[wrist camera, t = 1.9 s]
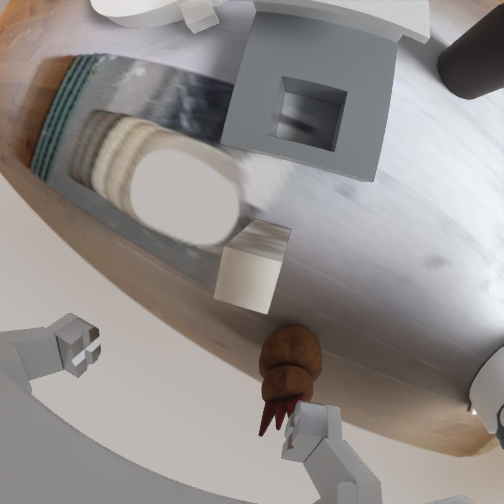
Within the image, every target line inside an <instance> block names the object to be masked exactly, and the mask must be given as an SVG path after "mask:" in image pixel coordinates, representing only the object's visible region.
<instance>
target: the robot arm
mask: <svg viewBox="0 0 504 504" xmlns="http://www.w3.org/2000/svg"><path fill="white" fill-rule="evenodd" d="M98 337H99V329H98V328H96V327H95V326H93V325H91V324H90V323H88V322H86V321H84V320H83V319H81V318H79V317H77V316H76V315H74V314H72V313H69V314H67V315H65V316H64V317H62V318H61V319H59V320H58V321H56V322H55V323H53V324H52V325H50V326H49V327H47V328H44V327H41V328H32V329H23V330H14V331H4V332H0V504H256V503H250V502H245V501H241V500H237V499H233V498H229V497H225V496H221V495H217V494H214V493H211V492H207V491H204V490H201V489H198V488H195V487H192V486H188V485H186V484H183V483H181V482H178V481H175V480H172V479H170V478H168V477H165V476H163V475H160V474H158V473H156V472H153V471H151V470H149V469H147V468H144V467H142V466H140V465H138V464H136V463H134V462H132V461H130V460H128V459H126V458H124V457H122V456H120V455H118V454H116V453H115V452H113V451H111V450H109V449H108V448H106V447H104V446H102V445H101V444H99V443H98V442H96V441H94V440H93V439H91V438H89V437H88V436H86V435H85V434H83V433H82V432H80V431H79V430H77V429H76V428H74V427H73V426H71V425H70V424H69V423H67V422H66V421H64V420H63V419H62V418H60V417H59V416H58V415H56V414H55V413H53V412H52V411H51V410H50V409H49V408H47V407H46V406H45V405H44V404H42V403H41V402H40V401H39V400H38V399H36V398H35V397H34V396H33V395H32V394H31V392H32V387H31V385H30V382H29V380H32V379H36V378H39V377H42V376H46V375H49V374H52V373H56V372H59V371H61V370H66V371H68V372H69V373H71V374H72V375H74V376H76V377H77V378H79V377H80V376H81V375H82V374H83V373H84V372H85V371H86V370H87V365H89V364H93V363H94V362H95V361H96V360H97V359H98V357H99V355H100V352H101V345H100V343H99V341H98V339H97V338H98ZM469 398H470V401H471V408H470V412H471V414H472V415H476V414H478V416H479V418H480V419H481V421H482V422H483V424H484V425H485V427H486V429H487V430H488V432H489V433H491V434H492V433H496V436H497V439H498V442H499V444H500V445H501V447H502V448H503V449H504V346H503V347H501V348H500V349H499V350H498V351H497V352H496V353H495V354H494V355H493V356H492V357H491V358H490V359H489V360H488V361H487V362H486V363H485V365H484V366H483V367H482V368H481V370H480V371H479V373H478V374H477V376H476V378H475V379H474V381H473V383H472V386H471V389H470V393H469ZM285 437H286V441H285V443H284V444H283V450H282V457H281V458H282V459H286V460H291V461H297V462H302V463H303V464H304V466H305V468H306V470H307V472H308V474H309V476H310V477H311V479H312V481H313V483H314V485H315V487H316V489H317V491H318V493H319V495H320V496H321V498H320V499H319V500H317V501H316V502H315V503H313V504H383V503H382V492H381V483H380V481H379V479H378V478H377V477H376V476H375V475H374V474H373V472H372V471H371V470H370V469H369V468H368V467H367V465H366V464H365V463H364V462H363V461H362V459H361V458H360V457H359V456H358V455H357V453H356V452H355V451H354V450H353V449H352V447H351V446H350V445H349V444H348V442H347V441H345V440H342V428H341V415H340V408H339V407H337V406H330V405H324V404H318V403H313V402H307V401H302V400H299V401H298V403H297V404H296V406H295V412H294V413H292V414H291V415H290V417H289V420H288V422H287V425H286V429H285ZM425 504H475V503H474V502H473V501H472V500H471V499H469V498H468V497H466V496H463V495H460V496H454V497H451V498H447V499H443V500H439V501H435V502H431V503H425Z"/></svg>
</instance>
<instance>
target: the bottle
mask: <svg viewBox="0 0 504 504" xmlns="http://www.w3.org/2000/svg"><path fill="white" fill-rule="evenodd" d="M438 70H439V73H440V75H441V78H442V80H443V81H444V83H445V84H446V85H447V87H448V88H449V89H450V90H451V91H452V92H453V93H454V94H456V95H457V96H459V97H461V98H464V99H467V100H470V99H475V98H477V97H480V96H483V95H485V94H488V93H490V92H493V91H495V90H498V89H501V88H503V87H504V3H503V4H500V5H498V6H497V7H496V8H495V9H493V10H492V11H491V12H490V13H488V14H487V15H486V16H485V17H484V18H482V19H481V20H480V21H479V22H478V23H476V24H475V25H474V26H473V27H472V28H470V29H469V30H468V31H467V32H466V33H464V34H463V35H462V36H461V37H460V38H459V39H457V40H456V41H455V42H454V43H453V44H452V45H450V46H449V47H448V48H447V49H446V50H445V51H443V52H442V53H441V55H440V56H439V58H438Z"/></svg>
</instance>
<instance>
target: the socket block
mask: <svg viewBox="0 0 504 504" xmlns="http://www.w3.org/2000/svg"><path fill="white" fill-rule="evenodd" d="M223 1H224V0H223ZM230 1H253V2H254V5H255V8H256V10H257V12H256V15H255V18H254V21H253V25H252V28H251V31H250V34H249V37H248V41H247V44H246V47H245V51H244V54H243V57H242V61H241V64H240V68H239V71H238V75H237V79H236V82H235V86H234V90H233V93H232V97H231V101H230V105H229V109H228V113H227V117H226V121H225V125H224V129H223V133H222V138H221V142H220V143H221V144H224V145H226V146H229V147H231V148H234V149H239V150H244V151H249V152H254V153H258V154H263V155H267V156H272V157H276V158H280V159H284V160H288V161H292V162H296V163H300V164H304V165H308V166H312V167H315V168H319V169H322V170H326V171H329V172H333V173H336V174H340V175H343V176H346V177H349V178H352V179H356V180H359V181H362V182H374V178H375V174H376V170H377V165H378V161H379V157H380V152H381V148H382V143H383V138H384V133H385V128H386V123H387V117H388V111H389V105H390V99H391V93H392V86H393V78H394V70H395V61H396V51H397V43H398V41H399V40H400V38H401V37H402V35H405V36H407V37H410V38H412V39H414V40H416V41H419V42H421V43H423V44H426V43H427V41H428V40H429V39H430V15H429V0H230ZM285 92H289V93H294V94H299V95H303V96H308V97H312V98H316V99H320V100H324V101H328V102H331V103H335V104H338V105H341V107H340V112H339V116H338V121H337V125H336V130H335V134H334V139H333V143H332V147H331V151H327V150H324V149H320V148H317V147H313V146H309V145H305V144H301V143H297V142H293V141H289V140H285V139H280V138H276V137H275V134H276V130H277V125H278V121H279V117H280V113H281V109H282V105H283V101H284V96H285Z"/></svg>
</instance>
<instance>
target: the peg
mask: <svg viewBox="0 0 504 504" xmlns="http://www.w3.org/2000/svg"><path fill="white" fill-rule="evenodd" d="M290 231H291V229H290V228H286V227H282V226H279V225H275V224H271V223H267V222H264V221H260V220H256V219H255V220H254V221H253V222H251V223H250V224H249V225H248V226H247V227H246V228H244V229H243V230H242V231H241V232H240V233H239V234H237V235H236V236H235V237H234V238H233V239H232V240H230V241H229V242H228V243H227V244H226V245H225V246H224V248H223V253H222V258H221V263H220V268H219V273H218V278H217V283H216V288H215V293H214V299H217V300H220V301H223V302H227V303H230V304H233V305H236V306H240V307H243V308H246V309H250V310H253V311H257V312H260V313H264V314H268V310H269V307H270V304H271V300H272V297H273V293H274V290H275V287H276V283H277V280H278V276H279V272H280V269H281V265H282V262H283V258H284V254H285V251H286V247H287V243H288V239H289V235H290Z"/></svg>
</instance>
